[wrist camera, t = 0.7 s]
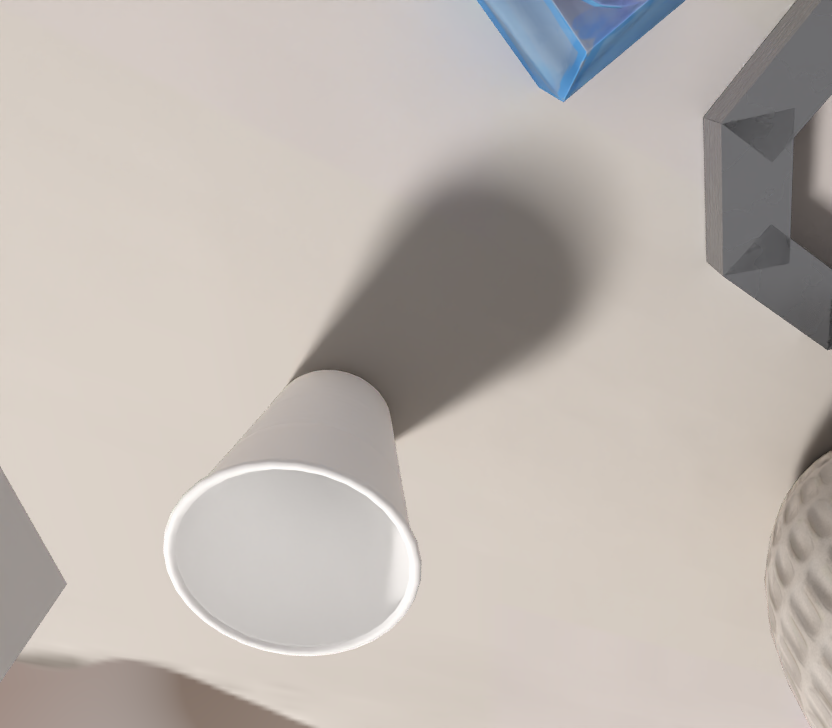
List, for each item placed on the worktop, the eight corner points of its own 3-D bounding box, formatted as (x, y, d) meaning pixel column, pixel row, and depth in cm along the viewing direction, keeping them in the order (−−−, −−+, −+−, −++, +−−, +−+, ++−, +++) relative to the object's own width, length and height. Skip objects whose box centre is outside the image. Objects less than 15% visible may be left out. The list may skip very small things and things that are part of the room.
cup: (439, 345, 33) (438, 479, 23) (415, 502, 37) (405, 670, 28) (240, 320, 33) (154, 445, 23) (240, 481, 37) (168, 643, 27)
